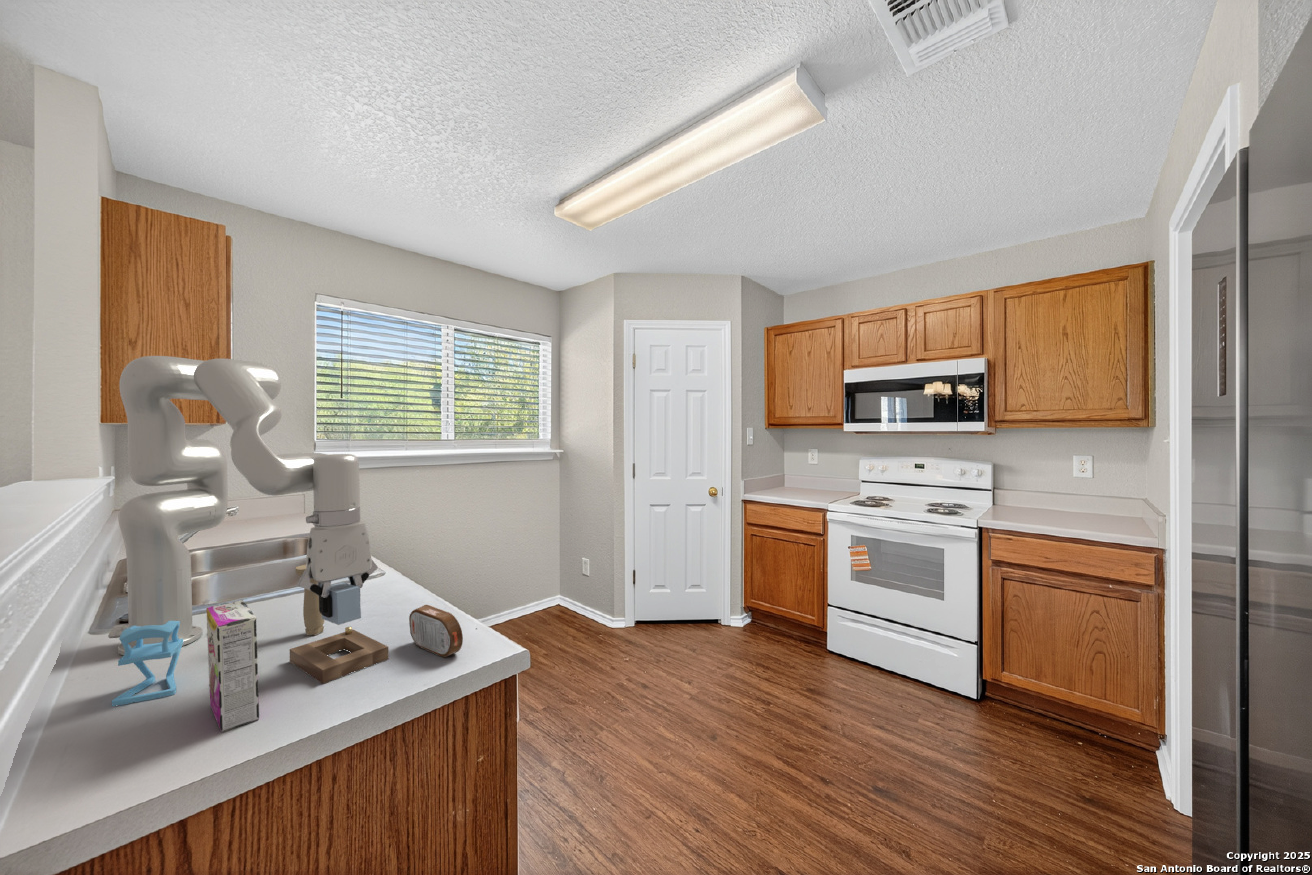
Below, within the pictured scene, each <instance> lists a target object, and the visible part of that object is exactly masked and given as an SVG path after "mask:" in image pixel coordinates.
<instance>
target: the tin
mask: <svg viewBox="0 0 1312 875" xmlns="http://www.w3.org/2000/svg"><path fill="white" fill-rule="evenodd" d="M408 619H409V623H408V624H409V633H410V635H411V636H410V637H411V638H412V641H413V642H414V643H415V644H416V646H417V647H418V648H421V649H423V650H425V651H427V650H428V651H427V652H430V653H433V654H434V655H436V654H437V656H439V657H441V656H442V658H447V657H449V656H452V655H453V654H456V653H458V652H460V650H461V649H462V646H463V643H464V640H463V638H464V637H463V630H462V627H461V624H460V622H459V620H458V619H457V617H455V615H454V614H452V613H451V612H449V611H446V610H443V609H441V608H438V607H435V606H432V605H429V604H423V605H422V606H419V607H418V608H415V609H413V610H412V611H411V612H410V614H409V616H408Z"/></svg>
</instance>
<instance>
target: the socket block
mask: <svg viewBox="0 0 1312 875" xmlns="http://www.w3.org/2000/svg"><path fill="white" fill-rule="evenodd" d="M344 629H345V630H344V631H343V632H340V633H337V634H333V635H331V636H328V637H324V638H321V639H318V640H314V641H311V642H308V643H305V644H302V645H298V646H296V647H295V646H294V647H291V648H290V649H289V663H290V664H292V665H293V666H295V667H297V668H298V669H300V670H301V671H303V672H304V673H306V674H307V675H308V676H310V677H312V678H313V679H314V680H317V681H318V682H319V683H321V684H322V685H325V684H327V683H330V682H332V681H331V680H333V681H335V680H337V678H338V679H340V678H342V677H341V676H343V677H346V676H348V675H350V674H349V673H351V672H354V671H356V672H359V671H361V670H360V669H362V670H364V669H365V668H364V667H367V668H369V667H372V666H374V664H375V665H377V664H379V663H382V661H383V662H385V661H388V660H389V646H388V645H387V644H384V643H382V642H380V641H378V640H376V639H374V638H371V637H369V636H368V635H365V634H363V633H361V632H359V631H357V630H356V629H353V627H352V626H347V627H345V628H344ZM343 649H345V650H343ZM339 650H342V651H346V650H348V651H350V652H351V653H348V654H345V655H342V656H339V657H336V658H333V657H331V656H330V655H329V654H331V655H334V654H336V653H335V652H337V651H339ZM333 653H334V654H333ZM337 653H338V652H337ZM327 655H328V656H327ZM387 659H388V660H387ZM376 663H377V664H376ZM371 665H372V666H371ZM368 666H369V667H368ZM363 668H364V669H363ZM358 670H359V671H358ZM354 673H355V672H354ZM347 674H348V675H347ZM351 674H352V673H351ZM345 675H346V676H345ZM339 677H340V678H339ZM329 681H330V682H329Z"/></svg>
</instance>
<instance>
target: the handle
mask: <svg viewBox="0 0 1312 875" xmlns="http://www.w3.org/2000/svg"><path fill="white" fill-rule="evenodd" d="M305 569H306V563H305V564H302V565H298V566H296V567H295V574H296V575H297V576H300V577H301V576H302V574H303V573H304V571H305ZM310 583H313V584H316V585H317V581H316V580H314V579H310ZM303 589H304V591H303V595H304V596H303V609H302V610H303V613H302V614H303V616H302V617H303V623H304V629H305V634H306V635H307V636H308V637H310V636H317V634H318V635H319V634H322V633H323V632H324V630H325V626H324V624H325V620H324V619H322V614H321V613H320V611H319V595H317V594H315V593H314V592H312V591H310V590H308V589H305V588H303Z"/></svg>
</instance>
